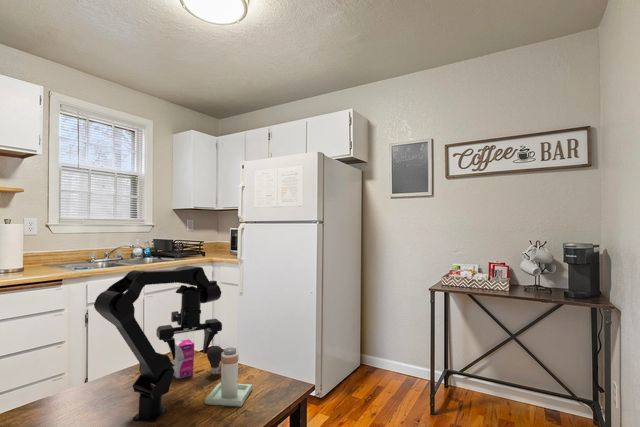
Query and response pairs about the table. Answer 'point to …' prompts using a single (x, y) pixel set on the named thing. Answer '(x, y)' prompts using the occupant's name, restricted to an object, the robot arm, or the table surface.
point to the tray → (238, 401)
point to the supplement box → (183, 359)
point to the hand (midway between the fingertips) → (189, 356)
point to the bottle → (229, 373)
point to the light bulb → (214, 358)
